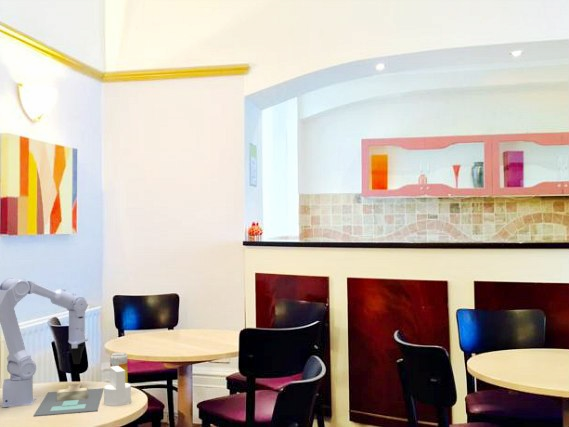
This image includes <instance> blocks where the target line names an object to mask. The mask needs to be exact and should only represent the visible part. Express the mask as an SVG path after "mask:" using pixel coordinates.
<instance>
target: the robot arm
mask: <svg viewBox="0 0 569 427" xmlns="http://www.w3.org/2000/svg"><path fill="white" fill-rule="evenodd" d="M31 294H35V295H38V296H41V297H44V298H47V299H48V300H50V303H52V304H53V305H56V306H58V307H60V308H63V309H66V310H67V311H68V340H67V342H68V343H69V345H68V350H69V351H70V354H71V359H72V363H73V365H80V363H81V361H82V360H81V359H82V354H83V351H84V348H85V345H86V343H85V342H88V341H89V339H88V338H86V336H85V334H86V332H85V330H86V326H85V324H86V323H85V322H86V321H85V320H86V319H85V318H86V317H85V316H86V311H87V309H88V306H89V303H88V302H87V300H86V298H85V297H82V296H77V294H76V293H70V292H68V291H66V289H65V288H58V289H55V290H53V289H50V288H48V287H46V286H44V285H42V284H40V283H37V282H35V281H31V280H26V279H23V278H20V279H19V278H18V279H17V278H12V277H8V278H5V279H4V280H3V281H2V282H1V283H0V327H1V331H2V333H3V334H2V335H3V337H4V341H5V343H6V344H5V345H6V347H7V351H8V355H7V357H6V360H7V364H6V371H7V372H8V374H10V376H9V378H5V379H4V380H3V383H2V405H1V407H2V408H10V407H19V406H22V407H23V406H31V405H33V403H34V402H35V400H36V397H33V395H34V394H33V393H34V392H33V391H34V390H33V386H34V384H33V382H34V381H33V380H34V379H33V377H34V376H35V374H36V371H37V364H36V362H34V361H33V360H32V357H31V354H30V353H29V352H28V351H27V348H26V346H25V343H24V340H23V335H22V332H21V329H20V325H19V322H18V318H17V315H16V311H15V307H16V306H17V304H18V303H19V302H20V301H22V299H24V298H25V297H26V296H27V295H31Z"/></svg>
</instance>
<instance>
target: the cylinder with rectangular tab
mask: <svg viewBox="0 0 569 427" xmlns="http://www.w3.org/2000/svg"><path fill="white" fill-rule="evenodd" d="M131 386H132V385H131V383H130V382H128V383H125V370H124V369H122V368H121V367H119V366H113V367H109V383H108V384H106V385H105V386H103V388H104V390H103V405H105V406H109V407H118V406H125V405H127V404H131V403H132V398H131V397H132V396H131V395H132V394H131V392H132V391H131V389H132V387H131ZM130 402H131V403H130Z"/></svg>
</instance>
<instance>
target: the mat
mask: <svg viewBox="0 0 569 427" xmlns="http://www.w3.org/2000/svg"><path fill="white" fill-rule="evenodd" d="M103 394H104V387H102V388H90V389H89V388H88V396H87V399H78V400H65V401H57V391H49V392H47V393H46V395H45V396H44V398H43V400H42V401H41V402H40V404H39V406H38V408H37V409H36V410H35V412H34V414H33V417H35V418H36V417H43V416H44V417H47V416H59V415H71V414H83V413H96V412H99V411H98V410H99V407H100V403H101V399H102V396H103Z"/></svg>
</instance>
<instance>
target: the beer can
mask: <svg viewBox="0 0 569 427" xmlns="http://www.w3.org/2000/svg"><path fill="white" fill-rule="evenodd" d="M109 358H110V359H109V362H110V363H109V364H110V367H113V366H119V367H121V368H122V369H124V370H125V383H129V382H128V378H129V377H128V354H127V352H125V351H120V352H119V351H117V352H112V353H111V356H110V357H109ZM110 367H109V368H110Z"/></svg>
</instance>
